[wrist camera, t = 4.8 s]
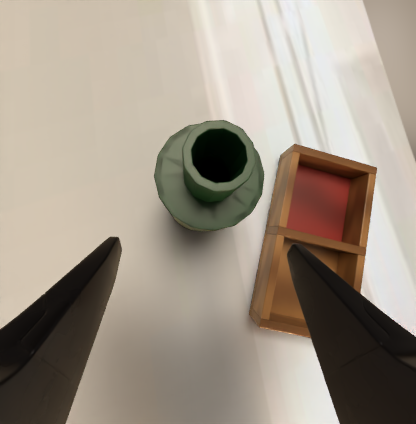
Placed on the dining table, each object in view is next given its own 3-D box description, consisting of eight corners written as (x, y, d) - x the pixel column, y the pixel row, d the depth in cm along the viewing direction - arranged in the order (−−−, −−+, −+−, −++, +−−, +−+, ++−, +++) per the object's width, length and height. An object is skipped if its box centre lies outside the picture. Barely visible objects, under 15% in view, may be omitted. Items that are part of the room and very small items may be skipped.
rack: (330, 331, 22) (353, 346, 19) (248, 314, 21) (259, 327, 18) (353, 175, 24) (377, 167, 21) (280, 154, 23) (294, 143, 20)
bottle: (193, 243, 21) (204, 260, 8) (157, 194, 21) (112, 135, 8) (239, 207, 22) (316, 173, 9) (205, 161, 22) (233, 61, 9)
